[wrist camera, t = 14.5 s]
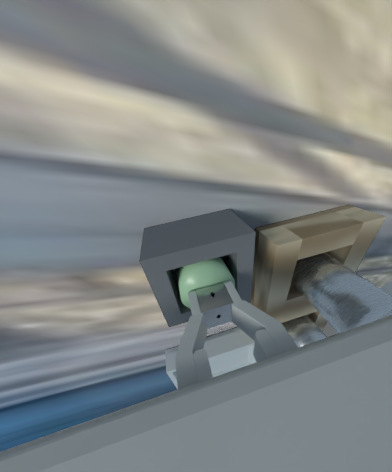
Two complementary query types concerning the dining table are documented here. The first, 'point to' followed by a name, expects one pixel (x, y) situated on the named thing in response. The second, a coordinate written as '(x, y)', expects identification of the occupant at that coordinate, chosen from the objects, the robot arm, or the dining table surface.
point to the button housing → (196, 256)
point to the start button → (201, 277)
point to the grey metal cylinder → (340, 292)
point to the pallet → (302, 246)
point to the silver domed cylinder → (303, 330)
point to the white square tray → (220, 353)
